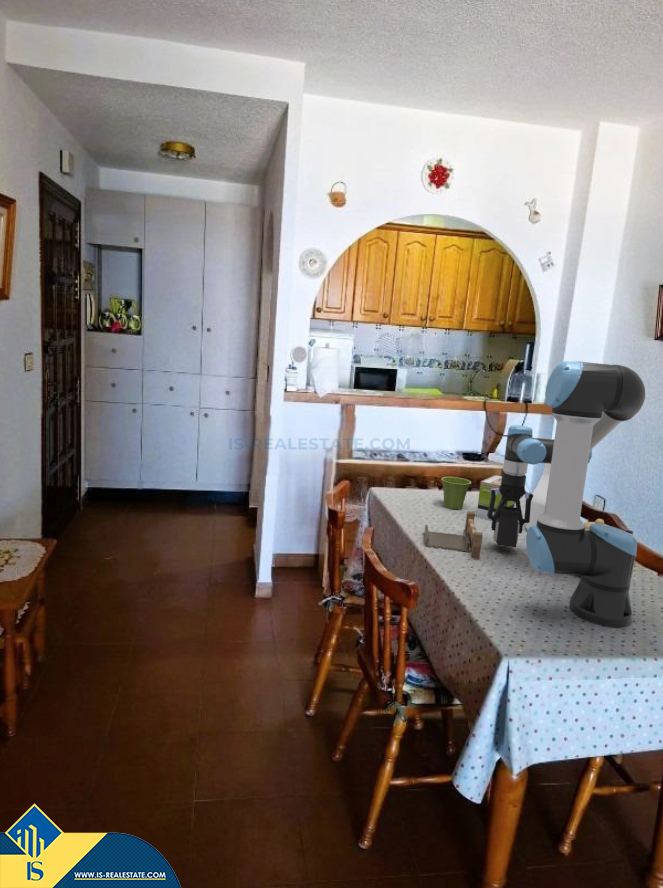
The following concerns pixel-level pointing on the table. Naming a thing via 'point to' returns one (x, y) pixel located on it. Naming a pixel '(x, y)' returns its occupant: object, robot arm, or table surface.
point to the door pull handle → (473, 536)
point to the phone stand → (508, 527)
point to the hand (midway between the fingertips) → (505, 540)
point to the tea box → (486, 495)
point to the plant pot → (454, 491)
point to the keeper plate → (447, 540)
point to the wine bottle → (539, 497)
